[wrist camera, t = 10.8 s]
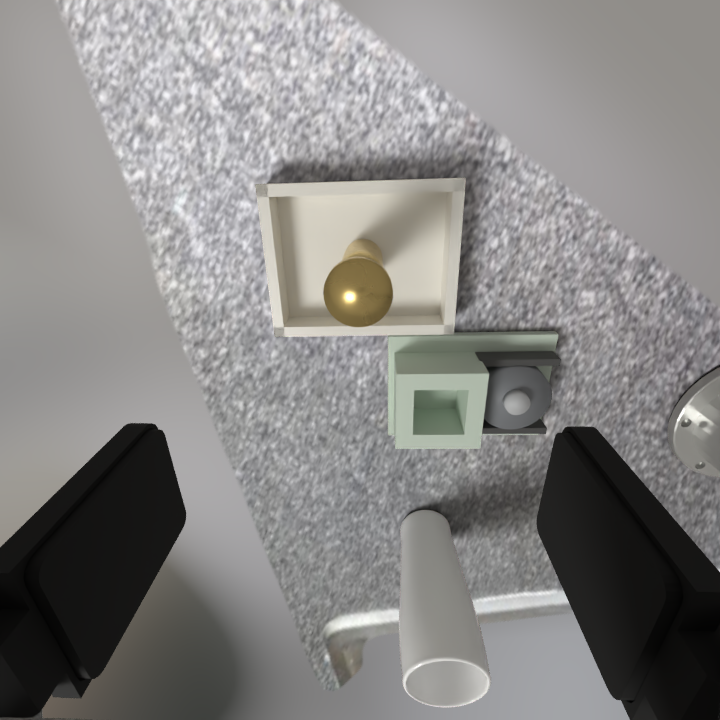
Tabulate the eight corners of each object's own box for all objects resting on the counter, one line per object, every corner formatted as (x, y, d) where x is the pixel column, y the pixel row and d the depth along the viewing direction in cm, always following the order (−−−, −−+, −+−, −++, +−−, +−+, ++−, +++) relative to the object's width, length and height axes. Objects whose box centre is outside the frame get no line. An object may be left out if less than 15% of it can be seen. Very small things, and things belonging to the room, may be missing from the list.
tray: (457, 177, 29) (465, 177, 26) (447, 321, 33) (453, 334, 31) (266, 183, 29) (255, 184, 27) (282, 323, 34) (274, 336, 31)
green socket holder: (554, 331, 33) (581, 354, 29) (535, 429, 38) (556, 463, 33) (388, 333, 34) (389, 356, 30) (387, 430, 38) (389, 463, 34)
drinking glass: (426, 491, 41) (451, 646, 28) (468, 525, 43) (511, 686, 30) (380, 524, 44) (382, 683, 30) (422, 555, 45) (442, 718, 32)
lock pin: (387, 232, 30) (393, 258, 21) (387, 282, 32) (392, 326, 22) (337, 234, 30) (321, 260, 21) (339, 283, 32) (325, 327, 22)
